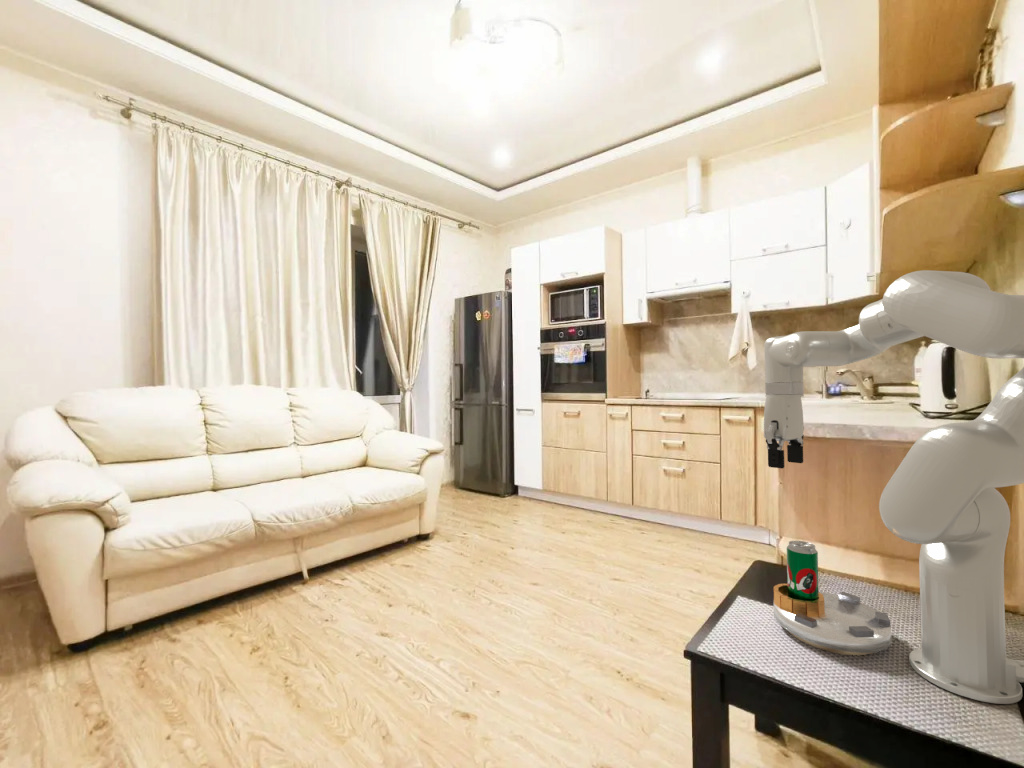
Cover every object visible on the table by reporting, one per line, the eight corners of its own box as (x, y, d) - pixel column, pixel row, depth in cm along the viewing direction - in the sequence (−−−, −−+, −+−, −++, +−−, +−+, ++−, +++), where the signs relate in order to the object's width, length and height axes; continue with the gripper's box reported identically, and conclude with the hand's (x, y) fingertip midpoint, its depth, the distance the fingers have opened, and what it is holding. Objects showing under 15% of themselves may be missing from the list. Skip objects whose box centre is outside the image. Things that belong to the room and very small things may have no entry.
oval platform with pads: (804, 594, 97) (803, 571, 98) (909, 632, 82) (908, 605, 82) (754, 617, 88) (753, 591, 89) (862, 665, 73) (861, 634, 73)
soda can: (824, 609, 86) (823, 546, 86) (808, 615, 84) (806, 550, 84) (798, 598, 91) (797, 538, 91) (781, 603, 88) (780, 542, 89)
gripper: (783, 389, 112) (785, 458, 112) (748, 391, 102) (750, 467, 101) (818, 389, 106) (820, 462, 106) (784, 391, 95) (786, 472, 95)
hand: (786, 464), depth 103 cm, fingers open, 9 cm apart
